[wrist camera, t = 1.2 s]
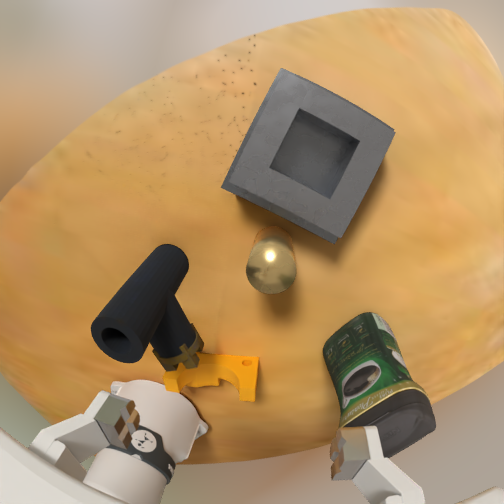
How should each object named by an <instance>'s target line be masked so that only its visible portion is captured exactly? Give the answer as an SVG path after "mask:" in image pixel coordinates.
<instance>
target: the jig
mask: <svg viewBox="0 0 504 504" xmlns="http://www.w3.org/2000/svg"><path fill="white" fill-rule="evenodd" d="M395 133H396V132H394V129H393V128H391V127H390V126H388V125H387V124H385V123H384V122H382V121H381V120H379V119H378V118H376V117H374V116H373V115H371V114H370V113H368V112H366V111H365V110H363V109H361V108H360V107H358V106H356V105H355V104H353V103H351V102H349V101H348V100H346V99H344V98H342V97H340V96H339V95H337V94H335V93H333V92H331V91H329V90H327V89H325V88H323V87H321V86H319V85H317V84H315V83H313V82H311V81H309V80H307V79H305V78H303V77H301V76H298V75H296V74H294V73H292V72H289V71H287V70H285V69H283V68H281V69H280V71H279V73H278V74H277V76H276V78H275V80H274V82H273V84H272V85H271V87H270V89H269V91H268V93H267V95H266V97H265V99H264V101H263V102H262V104H261V106H260V108H259V110H258V112H257V114H256V116H255V118H254V120H253V122H252V124H251V126H250V128H249V130H248V132H247V134H246V136H245V138H244V140H243V142H242V144H241V146H240V148H239V150H238V152H237V154H236V157H235V159H234V161H233V163H232V165H231V167H230V169H229V171H228V173H227V176H226V178H225V180H224V182H223V184H222V186H221V188H223V189H225V190H227V191H229V192H231V193H233V194H236V195H238V196H240V197H242V198H244V199H246V200H248V201H250V202H252V203H254V204H256V205H258V206H260V207H262V208H265V209H267V210H269V211H271V212H273V213H275V214H277V215H279V216H281V217H283V218H285V219H287V220H289V221H291V222H293V223H294V224H296V225H298V226H300V227H302V228H304V229H306V230H308V231H310V232H312V233H314V234H316V235H318V236H320V237H322V238H323V239H325V240H327V241H329V242H331V243H333V244H335V243H336V241H337V239H338V237H339V238H341V237H342V236H343V234H344V232H345V230H346V229H347V227H348V225H349V223H350V221H351V220H352V218H353V216H354V214H355V212H356V210H357V209H358V207H359V205H360V203H361V201H362V199H363V197H364V195H365V194H366V192H367V190H368V188H369V186H370V184H371V182H372V180H373V178H374V176H375V174H376V172H377V170H378V168H379V166H380V164H381V162H382V160H383V158H384V156H385V154H386V152H387V150H388V148H389V146H390V144H391V141H392V139H393V137H394V135H395Z"/></svg>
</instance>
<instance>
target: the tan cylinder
mask: <svg viewBox="0 0 504 504" xmlns="http://www.w3.org/2000/svg"><path fill="white" fill-rule="evenodd" d="M246 274H247V278H248V280H249V282H250V284H251V285H252V286H253V287H254V288H255V289H257V290H258V291H260V292H263V293H267V294H276V293H280V292H283V291H285V290H286V289H288V288H289V287H290V286H291V285H292V283H293V282H294V280H295V277H296V264H295V257H294V251H293V245H292V240H291V237H290V235H289V234H288V233H287V232H286V231H285V230H284V229H282V228H279V227H275V226H271V227H267V228H264V229H262V230H261V231H260V232H259V233H258V234H257V236H256V237H255V240H254V243H253V247H252V250H251V253H250V256H249V260H248V263H247V267H246Z"/></svg>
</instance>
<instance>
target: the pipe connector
mask: <svg viewBox="0 0 504 504" xmlns="http://www.w3.org/2000/svg"><path fill="white" fill-rule="evenodd" d="M188 269H189V262H188V259H187V256H186V255H185V253H184V252H183V251H182V250H181V249H180V248H178V247H177V246H174V245H171V244H163V245H160V246H158V247H157V248H156V249H155V250H154V251H153V252H152V253H151V254H150V255H149V256H148V257H147V259H146V260H145V261H144V262H143V263H142V264H141V265H140V266H139V268H138V269H137V270H136V271H135V272H134V273H133V274H132V275H131V277H130V278H129V279H128V280H127V281H126V282H125V284H124V285H123V286H122V287H121V288H120V289H119V291H118V292H117V293H116V294H115V295H114V297H113V298H112V299H111V300H110V301H109V303H108V304H107V305H106V306H105V307H104V309H103V310H102V311H101V312H100V314H99V315H98V316H97V317H96V319H95V320H94V321H93V323H92V325H91V333H92V337H93V339H94V341H95V343H96V344H97V345H98V347H99V348H100V349H101V350H102V351H103V352H104V353H105V354H107V355H108V356H109V357H111V358H113V359H115V360H117V361H120V362H123V363H135V362H137V361H139V360H140V359H141V358H142V356H143V354H144V352H145V350H146V348H147V346H148V344H149V342H150V344H151V345H152V347H153V348H154V349H153V351H152V352H153V353H154V355H155V356H156V358H157V359H158V360H159V362H160V363H161V365H162V366H163V367H164V369H165V370H166V371H167V372H169V371H177V368H178V365H179V363H181V362H182V363H183V365H184V366H185V367H186V369H192V368H197V367H198V364H199V360H200V359H199V357H198V356H197V354H196V352H201V351H202V350H203V347H204V342H203V341H202V339H201V337H200V335H199V334H198V332H197V330H196V329H195V327H194V325H193V323H191V324H190V322H189V321H188V319H187V317H186V315H185V314H184V312H183V310H182V308H181V306H180V304H179V303H178V301H177V299H176V297H175V293H176V292H177V290H178V288H179V286H180V284H181V283H182V281H183V279H184V277H185V275H186V274H187V272H188Z"/></svg>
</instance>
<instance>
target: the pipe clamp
mask: <svg viewBox="0 0 504 504" xmlns="http://www.w3.org/2000/svg"><path fill="white" fill-rule="evenodd" d="M196 354H197V356H198V357H199V359H200V360H199V364H198V367H197V368H192V369H186V367H185V366H184V365H183V363H182V362H181V363H179V365H178V368H177V371H169V372H167V371H166V372H165V374H164V376H163V381H164V385H165V389H166V391H170V392H176V393H180V391H181V389H182V388H183V387H184V386H192V387H201V386H207V385H215V386H219V383H220V379H224V380H227V381H229V382H230V383H232V384H233V385H234V386H235V387H236V388H237V389H238V391H239V394H240V401H253V402H255V396H256V387H257V378H258V366H259V357H247V356H233V355H221V354H210V353H201V352H196Z"/></svg>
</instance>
